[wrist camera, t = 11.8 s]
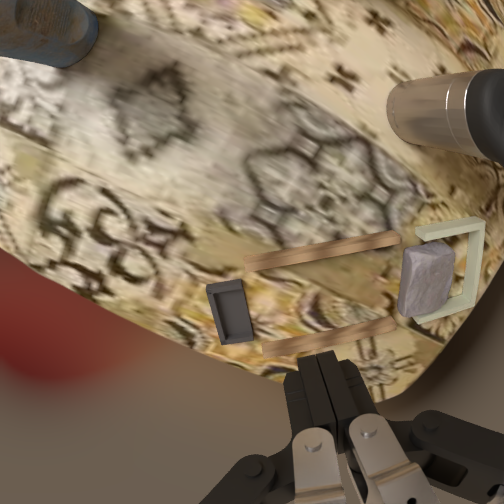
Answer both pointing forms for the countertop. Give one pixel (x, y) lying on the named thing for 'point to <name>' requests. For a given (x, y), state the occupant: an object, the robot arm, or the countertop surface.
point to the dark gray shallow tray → (230, 311)
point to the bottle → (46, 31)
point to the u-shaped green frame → (472, 264)
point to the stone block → (425, 278)
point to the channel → (314, 254)
